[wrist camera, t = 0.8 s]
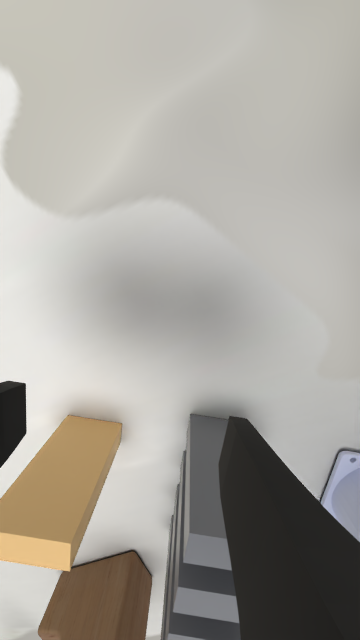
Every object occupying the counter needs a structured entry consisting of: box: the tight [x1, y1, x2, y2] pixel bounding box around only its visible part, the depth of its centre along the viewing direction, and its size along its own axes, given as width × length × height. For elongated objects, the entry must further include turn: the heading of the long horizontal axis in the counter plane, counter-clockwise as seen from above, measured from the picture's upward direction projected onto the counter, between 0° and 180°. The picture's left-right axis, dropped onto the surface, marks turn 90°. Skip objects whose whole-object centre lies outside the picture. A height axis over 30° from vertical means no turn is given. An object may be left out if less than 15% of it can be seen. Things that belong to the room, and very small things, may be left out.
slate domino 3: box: [165, 485, 241, 640], centre depth 18 cm, size 5×2×9 cm, turn 82°
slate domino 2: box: [173, 451, 239, 623], centre depth 17 cm, size 5×2×9 cm, turn 82°
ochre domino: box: [0, 415, 122, 572], centre depth 16 cm, size 5×2×9 cm, turn 82°
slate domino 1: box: [183, 414, 232, 570], centre depth 16 cm, size 5×2×9 cm, turn 82°
